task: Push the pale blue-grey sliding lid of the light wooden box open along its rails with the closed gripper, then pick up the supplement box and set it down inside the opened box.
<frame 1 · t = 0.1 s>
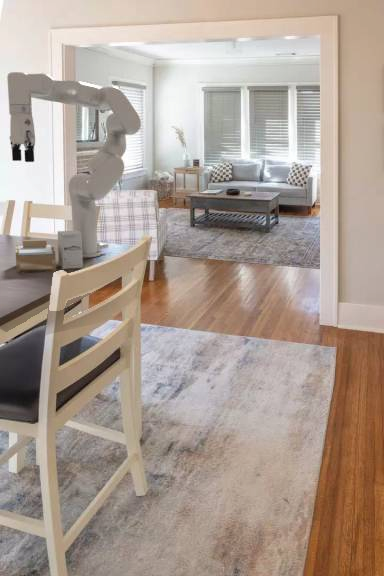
hand: (23, 161, 203), 37 cm above the table, tool pointing down, fingers open, 9 cm apart
supplement box: (70, 267, 207), on the table
box: (36, 268, 204), on the table
lid: (35, 246, 202), point 8 cm above the table, slide at 0.0 cm
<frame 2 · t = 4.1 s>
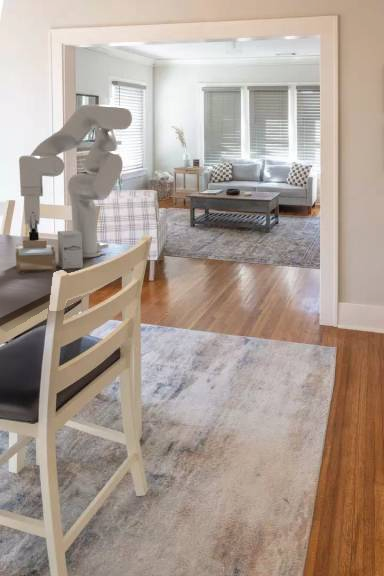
hand: (34, 243, 206), 8 cm above the table, tool pointing down, fingers closed
lid: (35, 246, 201), point 8 cm above the table, slide at 0.5 cm, touching gripper
everything else where it was.
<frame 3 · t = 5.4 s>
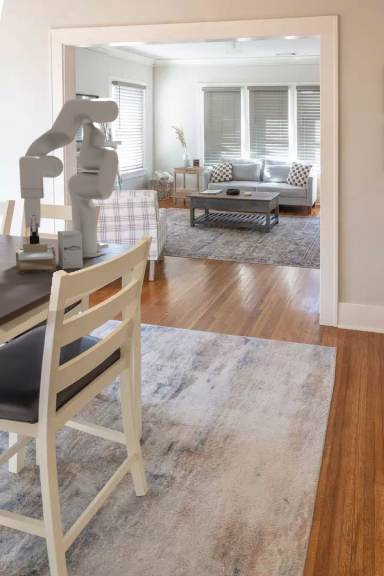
hand: (34, 247, 199), 8 cm above the table, tool pointing down, fingers closed
lid: (35, 250, 194), point 8 cm above the table, slide at 7.9 cm, touching gripper
everything else where it was.
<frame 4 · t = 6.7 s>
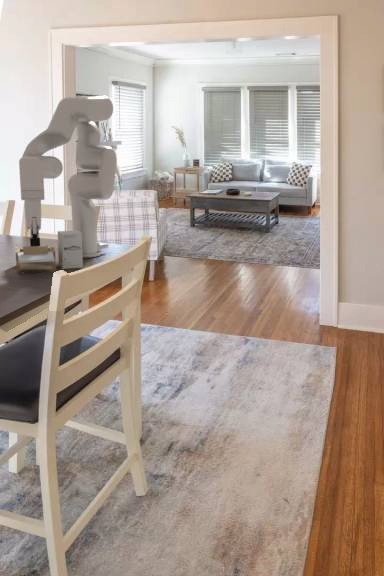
hand: (35, 249, 195), 8 cm above the table, tool pointing down, fingers closed
lid: (35, 253, 190), point 8 cm above the table, slide at 12.0 cm
everything else where it was.
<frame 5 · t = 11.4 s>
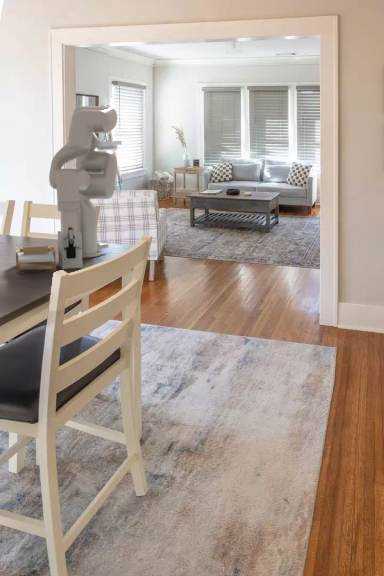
hand: (70, 255, 206), 4 cm above the table, tool pointing down, fingers closed on supplement box, 7 cm apart
supplement box: (70, 267, 207), on the table, touching gripper
everything else where it was.
when the fingers open (8 cm above the table, at t = 16.9 s): supplement box drops 3 cm, resting on box.
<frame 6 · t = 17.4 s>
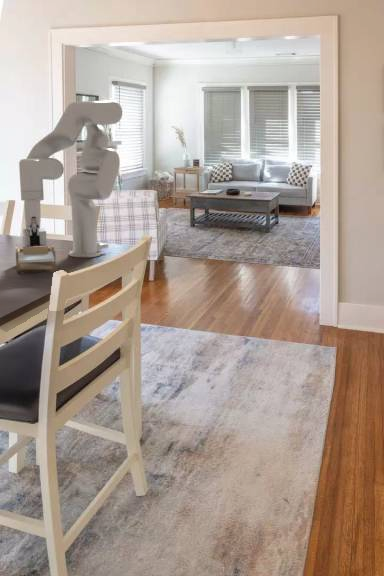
hand: (34, 244, 202), 8 cm above the table, tool pointing down, fingers open, 9 cm apart
supplement box: (36, 265, 204), point 1 cm above the table, touching box
everything else where it was.
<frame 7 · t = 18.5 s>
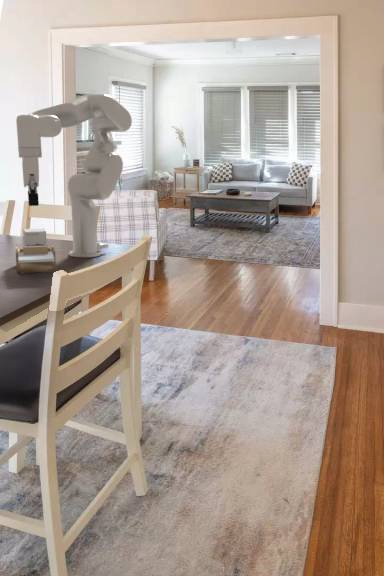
hand: (33, 203, 199), 23 cm above the table, tool pointing down, fingers open, 9 cm apart
nothing on the table moved.
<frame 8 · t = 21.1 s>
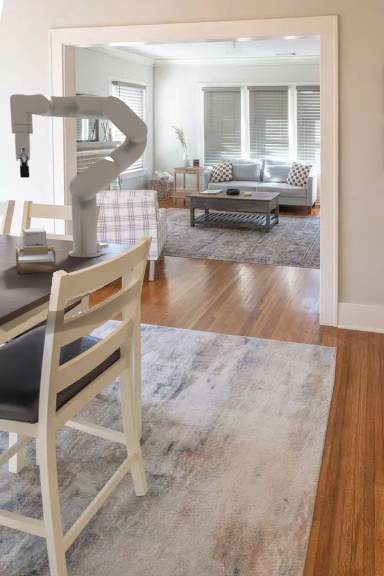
hand: (24, 176, 217), 30 cm above the table, tool pointing down, fingers open, 9 cm apart
nothing on the table moved.
at the end: lid slide at 12.0 cm; supplement box 0.3 cm from the box (horizontally); supplement box tilted 0° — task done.
